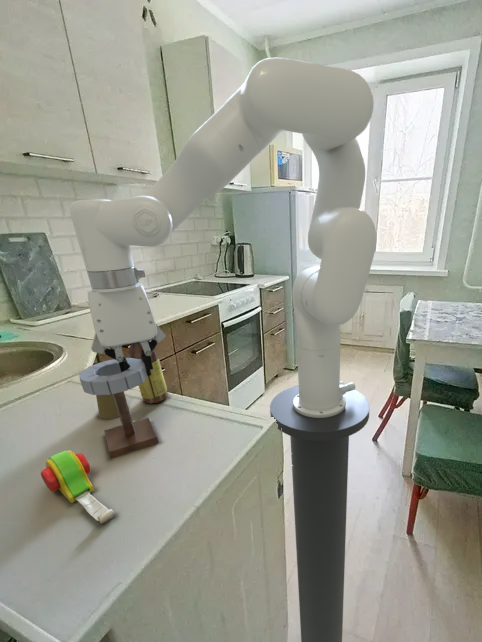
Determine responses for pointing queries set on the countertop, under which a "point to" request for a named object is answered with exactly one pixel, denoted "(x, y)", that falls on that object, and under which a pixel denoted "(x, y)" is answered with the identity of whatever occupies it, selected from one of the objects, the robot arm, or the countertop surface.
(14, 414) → the countertop surface
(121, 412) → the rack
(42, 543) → the countertop surface
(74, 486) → the toy measuring tape
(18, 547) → the countertop surface
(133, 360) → the segmented block ring
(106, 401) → the cork
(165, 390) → the sauce bottle
